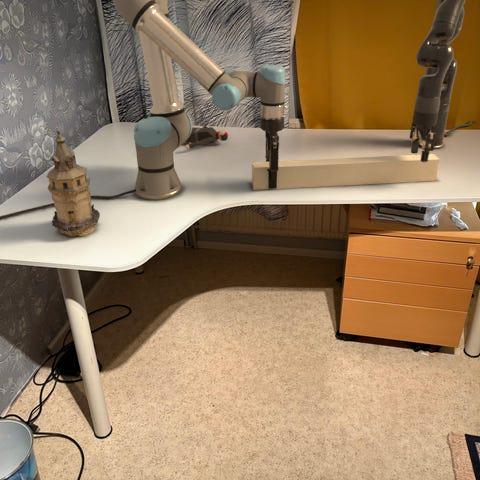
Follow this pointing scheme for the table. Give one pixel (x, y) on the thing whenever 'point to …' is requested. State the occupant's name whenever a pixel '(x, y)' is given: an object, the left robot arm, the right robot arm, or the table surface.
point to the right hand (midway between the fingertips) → (418, 157)
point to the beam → (347, 171)
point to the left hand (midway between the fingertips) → (271, 184)
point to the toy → (205, 136)
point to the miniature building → (70, 193)
